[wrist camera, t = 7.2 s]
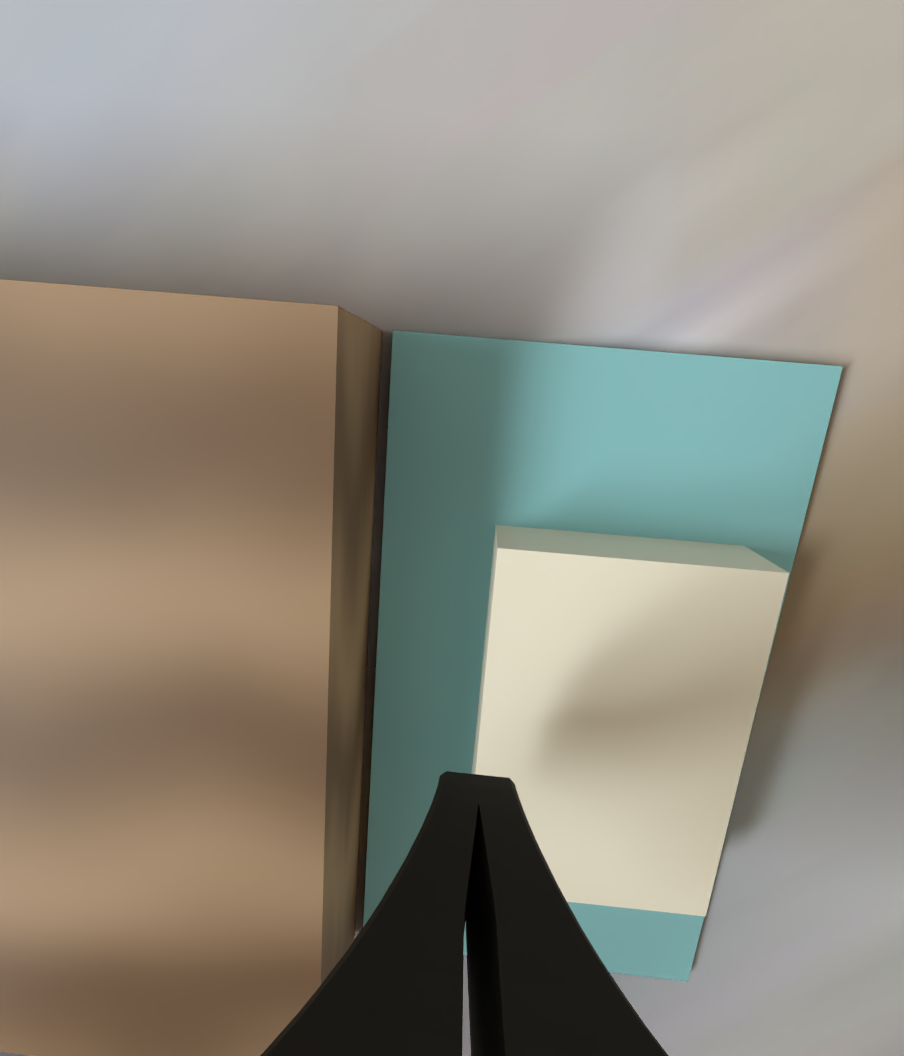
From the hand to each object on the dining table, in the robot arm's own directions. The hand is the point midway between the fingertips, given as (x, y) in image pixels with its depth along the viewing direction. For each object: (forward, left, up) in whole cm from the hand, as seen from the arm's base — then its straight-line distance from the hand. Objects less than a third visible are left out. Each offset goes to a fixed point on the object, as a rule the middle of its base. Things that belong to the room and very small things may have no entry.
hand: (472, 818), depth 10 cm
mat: (0, -2, -5) cm, 5 cm away
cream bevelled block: (0, -3, -2) cm, 4 cm away
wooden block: (0, +10, -5) cm, 11 cm away
